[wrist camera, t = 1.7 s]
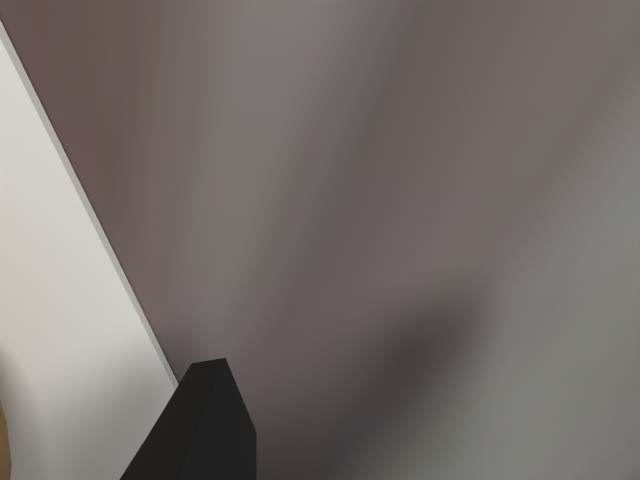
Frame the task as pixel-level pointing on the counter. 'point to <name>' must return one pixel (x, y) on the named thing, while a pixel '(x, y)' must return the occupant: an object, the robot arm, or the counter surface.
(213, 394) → the robot arm
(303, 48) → the counter surface
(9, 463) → the potato
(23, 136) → the t mat
